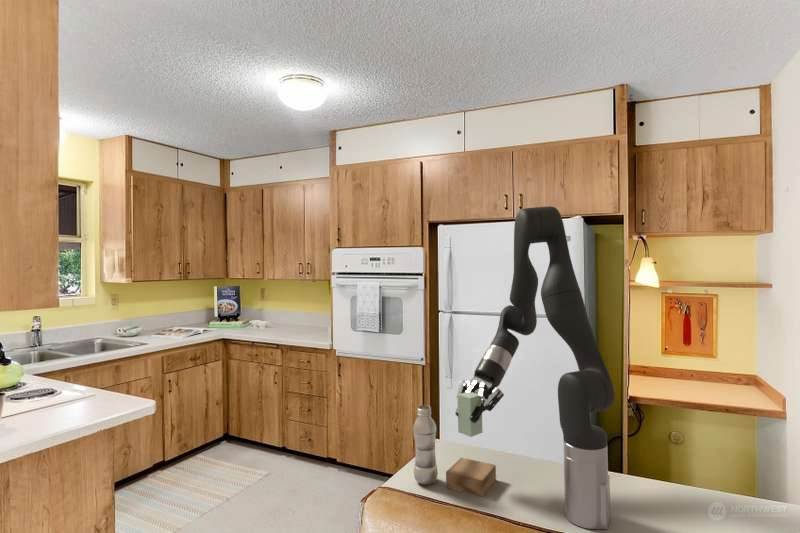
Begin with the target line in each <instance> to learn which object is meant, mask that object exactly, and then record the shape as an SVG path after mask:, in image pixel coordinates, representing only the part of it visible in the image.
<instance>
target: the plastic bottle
mask: <svg viewBox="0 0 800 533" xmlns="http://www.w3.org/2000/svg"><path fill="white" fill-rule="evenodd" d="M416 413H417V416H418V417H416V419H415V421H414V423H413V426H412V430H413V438H414V446H415V458H414V459H415V460H414V465H413V466H414V467H413V476H414V479H415V481H416V482H417V483H418V484H420V485H432V484H434V483H435V482H436V481H437V479H438V474H439V473H438V472H439V471H438V470H439V469H438V466H437V461H436V459H437V458H436V436H437V424H436V422H435V421H434V419H433V418H432V407H431V406H430V405H419V406H418V407H417V412H416Z"/></svg>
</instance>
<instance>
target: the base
mask: <svg viewBox="0 0 800 533" xmlns="http://www.w3.org/2000/svg"><path fill="white" fill-rule="evenodd" d="M496 465H497V464H492V463H488V462H484V461H480V460H476V459H469V458H465V457H460V458H458V460H457V461H456V462H455V463H454V464H453V465H452V466H450V467H449V469H447V471H445V482H446V483H445V486H446V488H448V489H453V490H456V491H460V492H464V493H466V494H467V493H468V494H470V495H471V494H472V495H476V496H480V497H484V496H485V494H486V493H487V492H488V490H489V489H490V488H491V487H492V485H493V484H494V483H495V482H496V480H497V474H496V472H497V470H496V469H497V466H496Z"/></svg>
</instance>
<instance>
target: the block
mask: <svg viewBox="0 0 800 533" xmlns="http://www.w3.org/2000/svg"><path fill="white" fill-rule="evenodd" d="M479 396H480V395H478V394H477V393H473V392H465V393H462V394H458V395H457V394H456V398H457V408H458V417H457V428H458V429H457V430H458V431H457V432H458V433H459V434H463V436H464V435H465V436H467V437H470V438H472V437H475V436H478V435H480V434H482V433H483V413H482V414H481V416H480V418H479V420H478V421H477V422H476V423H473V422H472V421H471V420H470V416H471V415H472V413H473V411H474V409H475V407H477V403H478V401H479Z"/></svg>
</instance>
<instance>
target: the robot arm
mask: <svg viewBox="0 0 800 533" xmlns="http://www.w3.org/2000/svg"><path fill="white" fill-rule="evenodd" d="M565 230H566V229H565V225H564V220H563V218H562V215H561V213H560V211H559V209H557V208H556V207H555V206H551V205H550V206H537V207H535V206H534V207H527V208H521V209H520V210H519V211H517V214H516V217H515V220H514V229H513V276H512V282H511V289H510V293H509V301H510V303H511V305H507V306H505V307H504V308H503V309H502V310H501V312H500V316H499V320H498V326H497V327H498V328H497V330H496V332H495V335H494V337H493V340H492V341H491V343H490V344H489V347H488V348H487V349H486V351H485V352H484V354H483V356H482V357H481V358H480V360H479V363H478V365H477V367H476V368H475V370H474V373H473V374H474V375H473V377H472V378H471V379H470V381H469V380H467V381H466V380H465V379H461V380H460V383H459V384H460V385H459V387H458V391H457V394H456V396H457V395H458V394H462V393H465V392H473V393H477V394H478V395H480V396H479V401H478V403H477V407H475V409H474V411H473V413H472V415H471V416H470V420H471V421H472V422H473V423H476V422H477V421H478V420H479V418H480V416H481V414H482V415H483V413H484V412H485V411H488V412H491V411H492V410H493V409H494V408H495V407H496V406H497V405H498V403H499V402H500V401H501V399H502V398H503V397H504V393H503V391H502V390H501V389H500V388H499V386H500V385H501V382H502V381H503V379H504V377H505V375H506V373H507V372H508V369H509V367H510V365H511V362H512V359H513V358H514V356H515V353H516V352H517V349H518V348H519V345H520V341H519V338H518V337H517V336H516V335H514V334H513V333H511V332H510V331H513V332H515V333H517V334H520V335H522V336H529V335H531V334H533V333H534V332H535V330H536V327H537V322H538V319H537V311H536V297H537V293H538V287H539V277H538V276H539V275H538V274H537V271H536V269H535V267H534V265H533V263H532V261H531V258H530V255H529V252H530V251H529V250H530V246H531V245H533V244H541V243H546V245H547V248H548V256H549V264H548V267H547V271H546V272H545V273H546V274H545V276H544V278H543V281H542V285H541V288H540V297H541V301H542V306H543V309H544V313H545V316H546V318H547V321H548V322H549V324H550V325H551V327H552V328H553V330H554V331H555V333H557V335H558V336H560V337H561V339H562V340H563V341H564V342H565V343H566V344H567V346H568V347H569V348H570V351H571V352H572V354H573V356H574V358H575V361H576V363H577V367H578V370H576V371H571V372H565V373H564V374H562V375H561V377H560V378H559V381H558V385H557V401H558V413H559V424H560V428H561V431H562V434H563V435H562V436H563V468H564V469H563V472H564V473H563V474H564V475H563V476H564V481H563V482H564V484H563V485H564V516H565V518H566V520H568V521H569V522H570V523H572V524H573V525H576V526H578V527H580V528H584V529H589V530H606V531H607V530H608V528H609V525H610V520H611V484H610V483H611V482H610V480H611V479H610V475H609V461H608V460H609V459H608V450H609V449H608V434H607V432H606V431H605V429H603V428H602V427H600V426H598V425H595V424H592V421H591V413H596V412H601V411H602V412H603V411H605V410H609V409H610V408H611V407H612V406H613V404H614V402H615V388H614V384H613V381H612V378H611V376H610V374H609V371H608V368H607V366H606V363H605V361H604V359H603V356H602V355H601V352H600V349H599V346H598V343H597V341H596V337H595V334H594V331H593V329H592V326H591V323H590V320H589V317H588V313H587V308H586V305H585V302H584V298H583V295H582V294H583V293H582V292H581V289H580V285H579V282H578V279H577V277H576V273H575V270H574V266H573V263H572V259H571V254H570V250H569V246H568V239H567V235H566V231H565ZM509 330H510V331H509ZM455 416H456V417H457V418H458V407H457V408H455Z"/></svg>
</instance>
